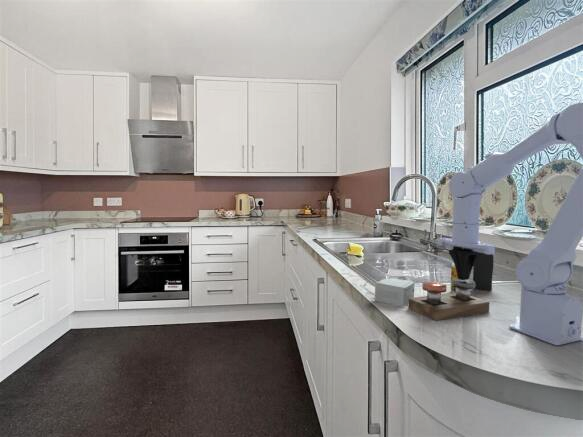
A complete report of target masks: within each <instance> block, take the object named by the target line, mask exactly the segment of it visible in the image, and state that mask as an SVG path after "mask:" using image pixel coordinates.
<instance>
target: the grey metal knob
mask: <svg viewBox="0 0 583 437" xmlns="http://www.w3.org/2000/svg"><path fill="white" fill-rule="evenodd" d="M451 285H452V286H454V287H456V298H457V299H461V300H469V299H470V296H471V294H470V289H473V288H475V281H472V280H460V279H452V281H451V280H450V286H451Z"/></svg>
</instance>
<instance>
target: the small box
mask: <svg viewBox="0 0 583 437" xmlns="http://www.w3.org/2000/svg"><path fill="white" fill-rule="evenodd" d="M409 298H415V281H411V280H405V279H400V278H395V277H394V278H393V277H386V278H384V279H380V280H379V281H378V282H375V284H374V302H376V301H378V302H377V303H381V302H382V303H381V304H386V305H391V306H396V307H400V308H404V307H406V305H409Z"/></svg>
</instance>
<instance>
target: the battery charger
mask: <svg viewBox="0 0 583 437" xmlns="http://www.w3.org/2000/svg"><path fill="white" fill-rule="evenodd" d="M494 266H495V256H494V254H489V255H488V254H485V253H481V254H480V256H479V257H478V259H477V260H476V262H475V264H474V266H473V281H475V288H473V289H475V290H482V291H483V290H485V291H491V290H493V276H494Z"/></svg>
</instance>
